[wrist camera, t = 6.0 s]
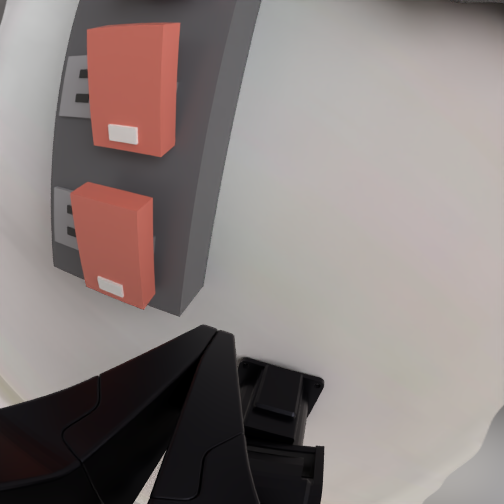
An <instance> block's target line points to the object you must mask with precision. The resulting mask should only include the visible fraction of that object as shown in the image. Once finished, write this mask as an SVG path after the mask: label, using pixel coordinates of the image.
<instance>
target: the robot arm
mask: <svg viewBox="0 0 504 504" xmlns="http://www.w3.org/2000/svg"><path fill="white" fill-rule="evenodd" d="M245 363H246V364H248V365H246V364H245ZM316 384H319V385H316ZM323 388H324V380H323V379H321V378H319V377H315V376H311V375H307V374H303V373H299V372H296V371H292V370H288V369H285V368H281V367H277V366H274V365H271V364H267V363H264V362H260V361H257V360H254V359H250V358H243V359H241V361H240V364H239V368H237V359H236V349H235V338H234V335H233V334H232V333H228V332H225V331H222V330H219V331H218V330H217V329H216V328H213V327H210V326H207V325H200V326H198V327H196V328H194V329H192V330H190V331H188V332H186V333H184V334H182V335H180V336H178V337H176V338H174V339H172V340H170V341H168V342H166V343H164V344H162V345H160V346H158V347H156V348H154V349H152V350H150V351H148V352H146V353H144V354H142V355H140V356H137V357H135V358H133V359H131V360H129V361H127V362H125V363H123V364H121V365H119V366H116V367H114V368H112V369H110V370H108V371H106V372H104V373H101V374H100V375H99V376H95V377H92V378H90V379H88V380H86V381H84V382H81V383H79V384H76V385H74V386H72V387H69V388H67V389H64V390H61V391H58V392H55V393H52V394H49V395H46V396H43V397H40V398H36V399H33V400H29V401H26V402H23V403H19V404H15V405H12V406H8V407H5V408H0V504H133V503H134V501H135V499H136V498H137V496H138V495H139V493H140V492H141V490H142V488H143V487H144V485H145V484H146V482H147V480H148V479H149V477H150V475H151V474H152V472H153V471H154V469H155V467H156V466H157V464H158V463H159V461H160V459H161V458H162V456H163V454H164V453H165V451H166V453H165V455H164V458H163V461H162V464H161V467H160V469H159V472H158V475H157V478H156V481H155V483H154V486H153V489H152V492H151V495H150V499H149V501H148V503H147V504H320V502H321V496H322V487H323V469H324V446H316V447H311V446H303V439H304V433H305V426H306V419H307V417H308V415H309V414H310V412H311V410H312V408H313V406H314V405H315V403H316V401H317V399H318V397H319V395H320V393H321V392H322V390H323ZM166 449H167V450H166Z"/></svg>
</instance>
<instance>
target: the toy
mask: <svg viewBox="0 0 504 504" xmlns="http://www.w3.org/2000/svg"><path fill="white" fill-rule="evenodd" d="M450 1H451V2H456V3H467V2H496V3H504V0H450Z"/></svg>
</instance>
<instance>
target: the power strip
mask: <svg viewBox="0 0 504 504" xmlns="http://www.w3.org/2000/svg"><path fill="white" fill-rule="evenodd" d="M260 3H261V0H80V1H79V4H78V8H77V11H76V15H75V19H74V22H73V26H72V30H71V34H70V38H69V43H68V47H67V52H66V56H65V61H64V66H63V72H62V77H61V83H60V90H59V96H58V103H57V111H56V120H55V130H54V141H53V155H52V176H51V226H52V248H53V262H54V266H55V267H57V268H59V269H61V270H63V271H66V272H68V273H70V274H73V275H75V276H77V277H79V278H82V279H84V274H83V269H82V264H81V259H80V254H79V249H78V244H77V238H76V232H75V226H74V219H73V212H72V205H71V198H70V193H71V192H73V191H74V190H76V189H77V188H79V187H80V186H82V185H83V184H85V183H86V182H91V183H95V184H99V185H103V186H107V187H112V188H116V189H120V190H124V191H128V192H132V193H136V194H140V195H144V196H148V197H152V198H153V250H154V276H155V295H154V296H153V298H152V299H151V300H150V302H149V303H148V304H147V305H149V306H152V307H154V308H157V309H160V310H162V311H165V312H168V313H171V314H174V315H176V316H179V317H180V315H181V314H182V313H183V311H184V310H185V309H186V308H187V306H188V305H189V304H190V302H191V301H192V300H193V298H194V297H195V296H196V295H197V293H198V292H199V291H200V289H201V288H202V287H203V284H204V278H205V272H206V265H207V259H208V253H209V247H210V241H211V236H212V230H213V224H214V218H215V213H216V207H217V202H218V196H219V191H220V186H221V180H222V175H223V170H224V165H225V160H226V154H227V149H228V144H229V139H230V135H231V130H232V125H233V120H234V115H235V111H236V106H237V101H238V97H239V92H240V88H241V83H242V79H243V74H244V70H245V65H246V61H247V57H248V52H249V48H250V44H251V40H252V36H253V31H254V27H255V23H256V19H257V15H258V11H259V7H260ZM133 23H180V34H179V49H178V67H177V89H176V125H175V146H174V147H172V148H171V149H170V150H169V151H168V152H167V153H165V154H164V155H163V156H162V157H157V156H152V155H147V154H141V153H136V152H131V151H125V150H119V149H113V148H107V147H101V146H95V145H94V142H93V133H92V123H91V113H90V101H89V86H88V64H87V29H91V28H96V27H101V26H106V25H118V24H133ZM84 280H85V279H84Z"/></svg>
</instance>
